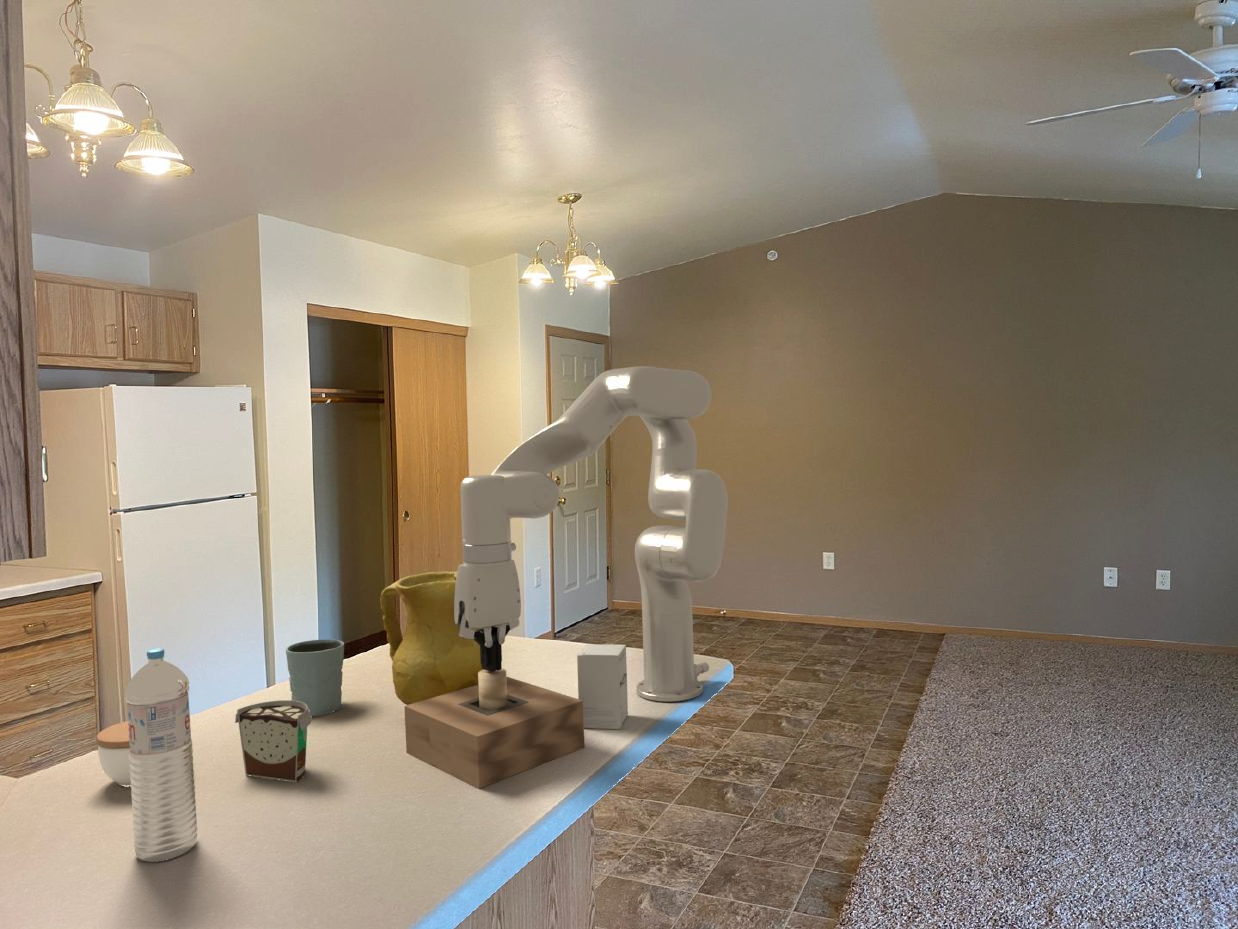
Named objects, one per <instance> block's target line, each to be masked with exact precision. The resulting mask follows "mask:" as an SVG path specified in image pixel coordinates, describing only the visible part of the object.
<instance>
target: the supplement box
mask: <svg viewBox="0 0 1238 929" xmlns="http://www.w3.org/2000/svg"><path fill="white" fill-rule="evenodd" d="M576 660H577V661H576V663H577V692H578V693H577V694H578V695H577V696H578V698H577V699H579V700H583V721H584V729H598V730H599V729H600V730H620V729H621V728H622V725H623V724H624V722H625V721H626V718H627V717H628V714H629V710H628V709H629V707H628V706H629V705H628V703H629V702H628V699H629V698H628V668H627V665H628V664H627V645H626V644H608V643H607V644H601V643H600V644H590V643H589V644H586V645H585V646H584V647H583V648H582V649H581V650H580V652H579V653H577V656H576Z"/></svg>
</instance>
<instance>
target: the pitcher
mask: <svg viewBox="0 0 1238 929" xmlns="http://www.w3.org/2000/svg"><path fill="white" fill-rule="evenodd" d="M456 576H457V571H430V572H425V573H418V574H413V575H408V576H405V577H402V578H399V580H397V581H395V582H393V583H392V584H391V585H389V586H386V587H385V588H384V589H382V591H381V592H380V593H381V594H380V598H379V603H380V611H381V612H382V613H383V615H382V621H383V629H384V631H385V632H386V641H387V643H388V645H389V657H390V659H391V661H392V662H391V663H392V664H391V669H392V670H391V671H392V672H391V673H392V682H393V686H394V691H395V692H394V693H395V696H396V697H397V698H398V700H399V701H401V702H402V703H403V704H404V705H405V706H406V705H410V704H413V703H417V702H420V701H424V700H427V699H430V698H434V697H437V696H441V695H444V694H448V693H451V692H455V691H458V690H462V689H465V688H469V687H472V686H475V685H479V682H478V672H479V671H481V670H484V669H482V665H481V660H480V645H478V644H477V643H476V641H475V640H474V639H467V638H462V637H460V636H459V632H460V626H457V625H456V624H455V619H454V599H455V584H456ZM396 596H398V597H400V598H401V600H402V601H403V603H404V606H405V609H406V613H407V614H406V615H407V616H406V628H405V632H404V636H403V634H402V630H401V627H400V623H399V618H398V614H397V609H396Z"/></svg>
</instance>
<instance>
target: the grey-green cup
mask: <svg viewBox="0 0 1238 929" xmlns="http://www.w3.org/2000/svg"><path fill="white" fill-rule="evenodd" d="M344 642H345V641H342V640H339V639H332V638H331V639H330V638H329V639H327V638H326V639H323V638H322V639H311V640H307V641H305V640H304V641H300V642H297V643H293V644H291V645H289V646H287V647H286V648H285V653H286V654H285V655H286V660H287V661H286V662H287V671H288V673H289V676H290V677H288V678H289V688H290V690H289V691H290V692H291V698H290V699H291V700H292V701H299V702H303V703H305V704H306V705H307V707H308V708H309V710H310V713H311V716H316V717H319V716H318V715H322V716H325V715H324V714H326V715H328V714H327V713H330V712H332V713H334V712H333V711H335V712H337V711H339V708H340V709H341V708H342V707H341V706H342V694H343V693H342V686H343V670H342V669H343V665H344V654H345V653H344V652H345V643H344ZM336 710H337V711H336ZM330 714H331V713H330Z"/></svg>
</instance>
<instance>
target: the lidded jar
mask: <svg viewBox="0 0 1238 929" xmlns="http://www.w3.org/2000/svg"><path fill="white" fill-rule="evenodd" d="M96 744H97V750H98V758H99V762H100V765H101V768H102V771H103V772H104V774H105V775H106V776H107V777H108V778H109V779H111V780H112V781H113V782H114V783H117V785H118V784H119V785H126V786H127V785H131V780H130V776H131V774H130V764H129V762H130V759H129V752H130V744H129V726H128V720H126V721H125V720H124V721H122V722H119V723H116V724H113V725H110V726H108V727H106V728H104V729H102V730H101V731H99V733H98V734H97V735H96ZM119 785H118V786H119Z"/></svg>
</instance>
